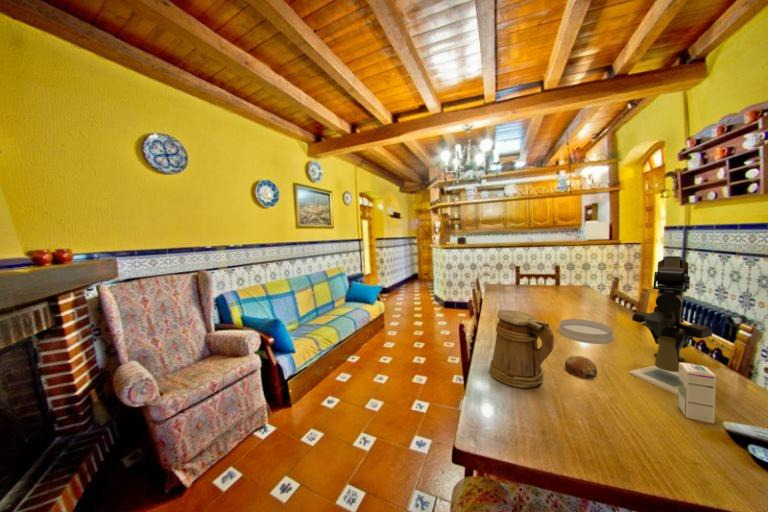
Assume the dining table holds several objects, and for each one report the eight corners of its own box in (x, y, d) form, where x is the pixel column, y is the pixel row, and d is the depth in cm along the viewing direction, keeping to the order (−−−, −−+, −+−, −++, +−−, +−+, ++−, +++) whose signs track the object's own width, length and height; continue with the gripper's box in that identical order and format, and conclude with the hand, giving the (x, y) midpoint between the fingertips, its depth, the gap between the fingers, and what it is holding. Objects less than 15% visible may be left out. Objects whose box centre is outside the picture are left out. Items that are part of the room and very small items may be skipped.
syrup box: (715, 424, 72) (718, 375, 71) (684, 417, 75) (686, 370, 74) (704, 412, 77) (707, 365, 75) (676, 406, 80) (678, 361, 79)
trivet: (655, 367, 101) (655, 364, 101) (707, 387, 88) (707, 384, 88) (629, 373, 98) (629, 371, 98) (679, 395, 84) (679, 392, 84)
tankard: (506, 359, 114) (505, 304, 112) (566, 383, 94) (567, 317, 92) (480, 372, 104) (479, 313, 102) (541, 403, 85) (540, 330, 82)
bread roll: (594, 379, 102) (591, 357, 104) (602, 381, 93) (599, 357, 96) (564, 374, 106) (562, 354, 108) (569, 376, 97) (567, 354, 100)
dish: (625, 343, 123) (626, 333, 122) (579, 345, 123) (579, 335, 123) (589, 326, 145) (589, 317, 144) (549, 328, 145) (549, 320, 145)
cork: (684, 372, 89) (686, 341, 88) (663, 371, 90) (665, 341, 89) (669, 363, 95) (670, 334, 94) (649, 362, 96) (650, 334, 95)
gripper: (621, 300, 97) (621, 340, 99) (690, 315, 79) (688, 363, 81) (643, 297, 100) (642, 335, 101) (714, 310, 82) (711, 357, 83)
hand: (667, 347), depth 92 cm, fingers closed on cork, 5 cm apart
